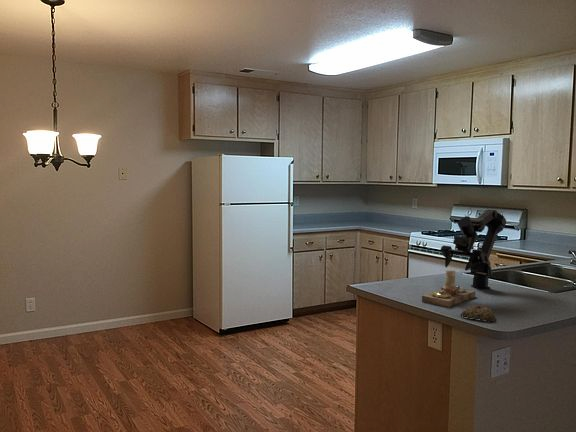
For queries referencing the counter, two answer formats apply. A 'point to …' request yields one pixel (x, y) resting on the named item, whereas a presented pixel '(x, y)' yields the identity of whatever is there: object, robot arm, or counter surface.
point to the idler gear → (450, 282)
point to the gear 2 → (461, 289)
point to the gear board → (448, 301)
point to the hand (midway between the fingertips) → (455, 268)
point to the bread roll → (479, 313)
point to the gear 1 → (441, 294)
